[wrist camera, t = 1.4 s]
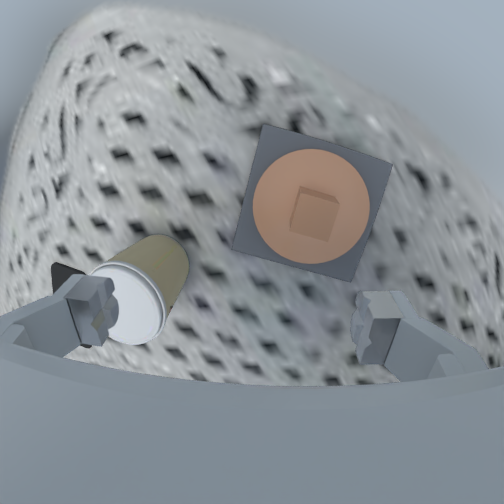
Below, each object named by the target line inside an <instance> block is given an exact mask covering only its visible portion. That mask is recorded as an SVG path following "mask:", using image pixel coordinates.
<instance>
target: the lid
mask: <svg viewBox="0 0 504 504" xmlns="http://www.w3.org/2000/svg"><path fill="white" fill-rule="evenodd" d="M369 211H370V202H369V195H368V191H367V188H366V185H365V183H364V181H363V179H362V177H361V176H360V174H359V173H358V172H357V170H356V169H355V168H354V167H353V166H352V165H351V164H350V163H349V162H347V161H346V160H345V159H343V158H342V157H340V156H338V155H336V154H334V153H331V152H328V151H324V150H320V149H302V150H297V151H294V152H290V153H288V154H286V155H284V156H282V157H280V158H279V159H277V160H276V161H275V162H273V163H272V164H271V165H270V166H269V167H268V168H267V170H266V171H265V172H264V173H263V175H262V176H261V178H260V180H259V182H258V184H257V186H256V189H255V193H254V198H253V216H254V220H255V224H256V226H257V229H258V231H259V233H260V235H261V237H262V238H263V240H264V241H265V242H266V243H267V244H268V246H269V247H270V248H271V249H273V250H274V251H275V252H276V253H278V254H279V255H281V256H283V257H285V258H287V259H289V260H292V261H295V262H299V263H306V264H317V263H324V262H327V261H331V260H333V259H336V258H338V257H340V256H341V255H343V254H345V253H346V252H347V251H349V250H350V249H351V248H352V247H353V246H354V245H355V244H356V243H357V241H358V240H359V239H360V237H361V236H362V234H363V232H364V230H365V228H366V225H367V222H368V218H369Z"/></svg>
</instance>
